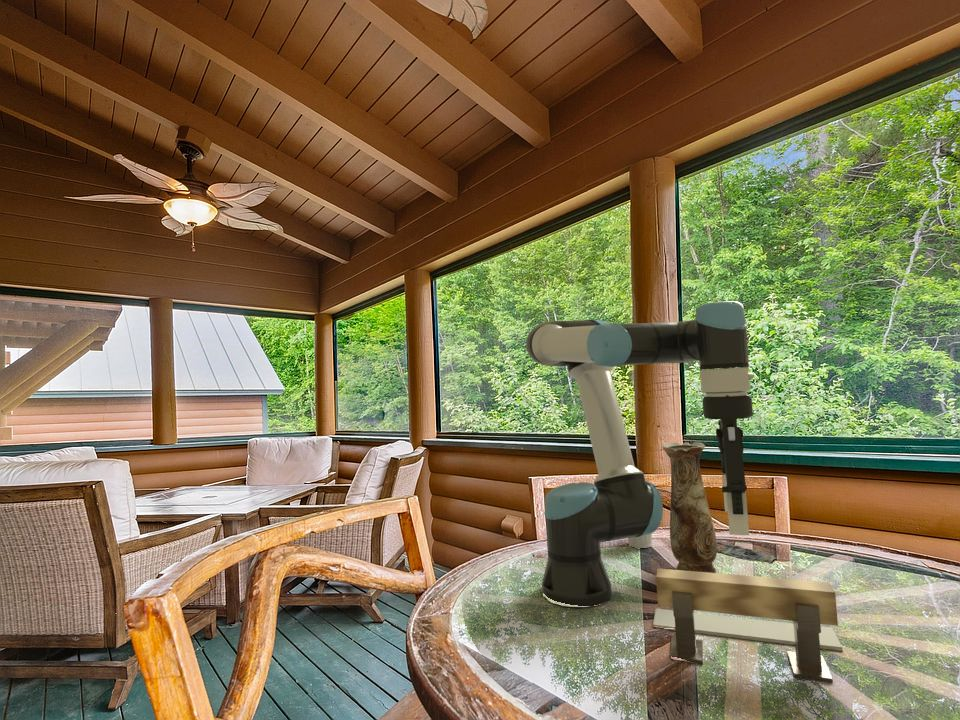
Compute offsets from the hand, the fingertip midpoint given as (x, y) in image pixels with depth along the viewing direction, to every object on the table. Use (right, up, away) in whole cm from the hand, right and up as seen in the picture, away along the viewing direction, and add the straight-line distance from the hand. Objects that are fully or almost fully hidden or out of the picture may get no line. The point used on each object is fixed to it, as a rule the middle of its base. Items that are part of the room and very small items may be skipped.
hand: (736, 522), depth 87 cm
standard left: (-7, -23, +3) cm, 24 cm away
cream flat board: (+5, -22, +9) cm, 25 cm away
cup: (+2, -25, +58) cm, 63 cm away
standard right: (+10, -22, -4) cm, 24 cm away
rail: (+1, -14, 0) cm, 14 cm away
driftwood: (+24, -24, +49) cm, 59 cm away
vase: (+9, -23, +38) cm, 45 cm away
